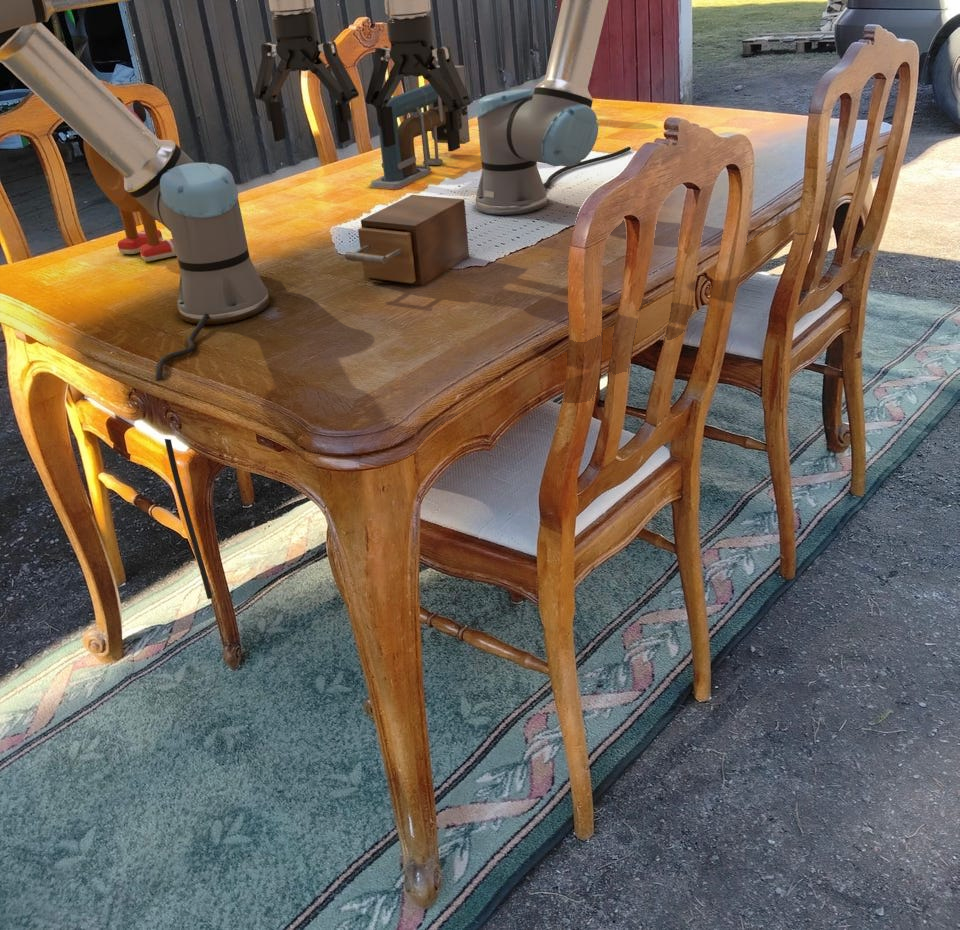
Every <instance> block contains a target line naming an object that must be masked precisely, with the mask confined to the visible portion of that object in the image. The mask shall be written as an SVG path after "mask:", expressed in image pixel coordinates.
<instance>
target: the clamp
mask: <svg viewBox="0 0 960 930" xmlns="http://www.w3.org/2000/svg"><path fill="white" fill-rule="evenodd" d="M436 67H437V68H438V69H439V73H440V75H441V76H442V77H443V79H444V80H445V81H446V79H445V77H444V75H443V73H442V71H441V69H440V66H439V65H436ZM455 68H456V70H457V72H458V74H459V76H460V78H461V80H462V83H463V85H464V87H465V89H466V90H467V87H466V73H465V66H464V65H455ZM428 71H430V70H428ZM446 83H447V81H446ZM447 84H448V83H447ZM388 104H389V105H386V107H387V106H392V114H393V123H394V132H395V141H396V144H394V145H392V146H389V147H384V144H383V136H382V127H379V125H378V124H377V128H378V138H379V144H380V153H381V161H382V163H381V168H382V169H383V175H382V176H380V177H377V178H376V179H374V180H372V181H371V182H370V184H369V187H370V188H372V189H373V188H374V189H375V188H376V189H387V190H389V189H390V190H398V189H402V188H403V187H405V186H407V185H409V184H411V183H414V182H415V181H417V180H420V179H421V178H424V177H426V176H427V175H429V174H431V173H432V168H431V166H440V165H442V164H444V160H443V158H439V144H448V142H447V130H446V118H445V112H446V111H448V110H449V108H448V107H447V106H446V104H445V103H444V102H443V100H442V99H441V98H440V96H439V95H438V94H437V92H436V91H435V90H434V88H433V87H432V86H431V84H430V83H428V84H424V85H421V86H419V87H416V88H414V89H411V90H408V91H405V92H403V93H400V94H398V95H394V96H392V97H391V99H390V100H389V102H388ZM420 109H422V110H423V111H422V112H421V110H420ZM410 113H416V114H415V115H412V116H410V117H407V116H408V115H409V114H410ZM468 113H469V111H468V105H467V106H465V107H463V108H462V109H461V117H462V128H461V129H460V130H459V141H460V145H466V144H468V143H469V142H470V141H471V138H470V137H471V136H470V126H469V114H468ZM400 117H403V118H402V119H403V120H402V122H401V123H400V124H399V125H398V118H400ZM428 132H431V138H432V140H433V143H434V144H433V146H434V158H432V157H431V152H430V144H429V136H428ZM418 136H421V145H422V153H423V161H422V165H421V164H420V165H419V164H417V157H416V151H415V150H416V149H415V138H417V137H418Z"/></svg>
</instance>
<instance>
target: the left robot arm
mask: <svg viewBox="0 0 960 930" xmlns="http://www.w3.org/2000/svg"><path fill="white" fill-rule="evenodd" d="M129 1H130V0H0V63H1V64H3V66H4V67H5V68H7V69H8V70H9V71H10V72H11V73H12V74H13V75H14V76H15V77H16V78H17V79H18V80H20V81H21V82H22V83H23V84H24V85H25V86H26V87H27V88H29V90H30V91H31V92H33V94H34V95H35V96H37V97H38V98H39V99H40V100H41V101H42V102H43V103H44V104H45V105H47V106H48V108H50V110H52V111H53V112H54V113H55V114H56V115H57V116H58V117H59V118H60V119H61V120H62V121H64V122H65V123H66V124H67V125H68V126H69V127H70V128H71V129H72V130H74V132H76V134H77V135H78V136H80V137H81V138H82V139H84V140H85V141H86V142H87V143H89V144H90V145H91V146H92V147H93V148H94V149H95V150H96V151H97V152H98V153H99V154H100V155H101V156H102V157H104V158H105V159H106V160H107V161H108V162H109V163H110V164H111V165H112V166H113V167H114V168H115V169H116V170H118V171H119V172H120V173H121V174H122V175H123V177H124V188H125V190H126V191H127V192H128V193H129V194H130V195H131V196H132V197H134V198H135V199H136V200H137V201H138V202H139V203H140V204H141V205H142V206H143V207H144V208H145V209H147V210H148V212H149V213H150V215H151V216H152V217H153V218H155V221H157V222H158V223H160V224H161V225H163V227H165V228H166V229H167V230H168V231H169V232H170V234H171V239H173V242H174V246H175V250H176V254H177V256H176V258H177V262H178V266H179V283H178V294H177V310H178V314H179V318H180V319H182V320H183V321H184V322H186V323H189V324H193V325H196V326H195V327H194V329H193V330H192V332H191V333H190V334H189V336H188V339H187V340H186V341H187V346H188V347H186V348H183V349H181V350H177V351H173V352H170V353H168V354H166V355H164V356H163V357H161V358H160V359H159V360H158V361H157V363H156V369H155V371H156V372H155V382H161V381H162V380H163V371H164V365H165V364H166V363H168V362H169V361H171V360H174V359H176V358H179V357H182V356H186V355H189V354H190V353H192V352H194V350H195V348H196V345H195V343H194V341H195V339H196V338H197V336H198V334H199V333H200V332H201V330H202V329H203V328H204V326H205V325H206V326H210V325H222V324H230V323H233V322H239V321H241V320H245V319H248V318H251V317H253V316H256V315H258V314H260V312H263V311H264V310H265V309H266V308H267V307H268V306H269V305H270V296H269V291H268V288H267V287H266V284H265V283H264V282H263V280H262V278H261V276H260V274H259V272H258V270H257V269H256V267H255V265H254V264H253V262H252V260H251V257H250V251H249V246H248V241H247V236H246V232H245V226H244V225H245V224H244V220H243V217H242V211H241V206H240V201H239V191H238V187H237V184H236V183H235V179H234V176H233V174H232V172H231V171H230V170H229V169H228V168H226V167H225V166H223V165H221V164H216V163H210V162H195V161H194V160H193V159H192V158H191V157H190V156H189V155H188V154H187V153H185V151H183V149H182V148H180V146H179V145H178V144H176V142H174V140H172V139H159V138H158V137H157V136H156V135H155V134H154V133H153V132H152V131H151V130H150V129H149V128H148V127H147V126H146V124H145V123H144V122H143V123H144V124H145V125H144V124H143V123H142V122H141V121H140V120H139V119H138V118H137V117H136V116H135V115H134V114H133V113H132V112H131V111H130V110H129V109H128V108H127V107H126V106H125V105H126V104H125V103H124V104H125V105H124V104H123V103H121V102H120V101H119V100H118V99H117V97H116V95H114V93H112V92H111V90H110V89H108V87H106V86H105V84H104V83H102V82H101V80H100V79H98V77H96V75H94V74H93V72H91V70H90V69H88V68H87V67H86V65H84V64H83V62H81V61H80V59H78V58H77V57H76V56H75V55H74V54H73V53H72V52H71V51H70V50H69V48H67V47H66V46H65V45H64V43H62V42H61V41H60V40H59V39H58V37H56V36H55V35H54V33H52V32H51V31H50V30H49V29H48V28H47V27H46V26H45V25H44V24H43V23H47V22H49V19H50V18H51V16H52V15H53V14H54V13H58V12H65V11H70V10H77V9H84V8H89V7H96V6H103V5H109V4H116V3H122V2H129ZM268 4H269V5H268V6H269V11H270V12H271V13H274V14H273V15H272V17H271V24H272V29H273V30H272V31H273V36H274V37H275V39H276V44H275V43H274V42H272V41H270V42H266V43H262V44H261V45H260V51H261V59H260V65H259V68H258V69H259V70H258V74H257V78H256V83H255V87H254V92H253V98H254V100H258V101H259V100H260V101H262V102H263V103H264V105H265V111H266V117H267V120H268V122H271V127H272V134H273V139H274V142H280V141H283V140H285V139H286V138H287V134H286V129H285V124H284V123H285V122H284V116H283V110H282V103H281V100H278V96H279V93H280V92H281V90H282V88H283V86H284V85H285V82H286V80H287V79H288V77H289V74H290V73H291V72H297V71H301V72H308V71H310V73H312V74H313V75H315V76H316V77H317V79H318V80H319V81H320V82H321V83H322V85H323V86H324V87H325V88H326V89H327V91H328V92H329V93H330V94H331V96H332V97H333V98H334V99H335V101H337V102H336V103H334V104H333V106H334V113H335V121H336V127H337V128H336V129H337V136H338V142H339V144H343V143H346V142H348V141H350V140H351V133H350V126H349V122H351V121H352V110H351V104H350V103H351V101H352V100H354V99H356V98H358V97H359V95H360V94H359V91H358V88H357V87H356V85H355V83H354V81H353V79H352V77H351V76H350V74H349V72H348V70H347V68H346V66H345V65H344V63H343V61H342V59H341V57H340V55H339V53H338V48H337V43H336V41H334V40H331V41H326V42H324V43H320V41H319V29H318V20H317V14H316V13H315V11H312V9H314V7H315V1H314V0H268ZM277 55H278V56H279V58H280V61H279V62H278V65H277V67H276V71H275V73H274V74H272V73H273V70H274V65H275V60H276V56H277ZM321 55H322V56H323V57H324V59H325V61H326V62H327V64H328V66H329V68H330V70H331V71H330V70H329V69H328V68H327V65H326V63H325V62H324V61H323V59H322V58H321V57H320V56H321ZM272 75H274V76H273V77H272ZM164 443H165V448H166V452H167V456H168V457H167V458H168V461H169V465H170V470H171V474H172V477H173V481H174V485H175V489H176V492H177V495H178V500H179V504H180V506H181V511H182V514H183V517H184V522H185V524H186V528H187V531H188V535H189V538H190V541H191V544H192V548H193V552H194V556H195V558H196V562H197V565H198V569H199V572H200V576H201V579H202V584H203V587H204V591H205V594H206V599H208V600H211V599H213V598H214V597H213V593H212V589H211V585H210V582H209V578H208V574H207V570H206V567H205V563H204V560H203V556H202V552H201V549H200V545H199V542H198V539H197V535H196V532H195V528H194V524H193V521H192V518H191V514H190V511H189V507H188V503H187V500H186V496H185V492H184V489H183V485H182V481H181V478H180V473H179V469H178V466H177V461H176V456H175V453H174V449H173V447H174V446H173V443H172V439H169V438H164Z"/></svg>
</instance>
